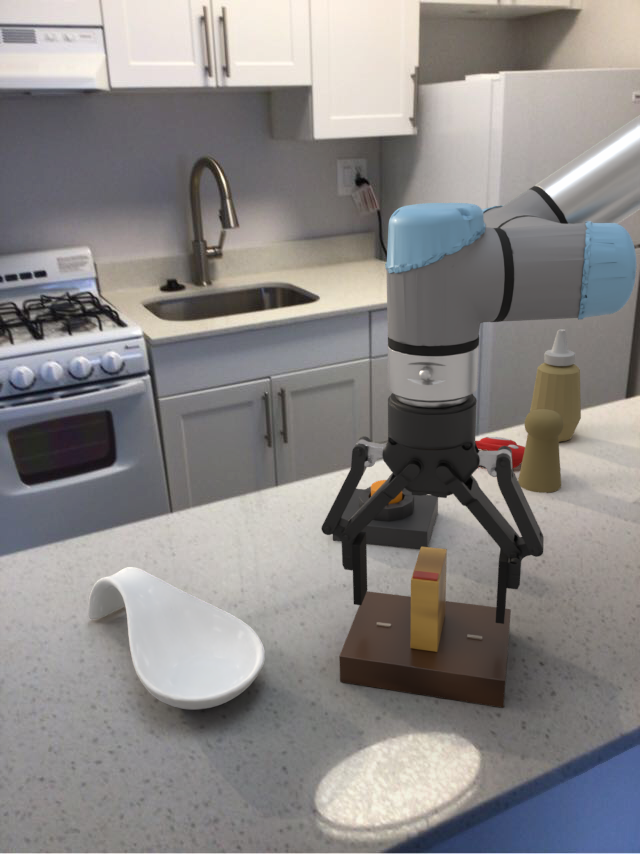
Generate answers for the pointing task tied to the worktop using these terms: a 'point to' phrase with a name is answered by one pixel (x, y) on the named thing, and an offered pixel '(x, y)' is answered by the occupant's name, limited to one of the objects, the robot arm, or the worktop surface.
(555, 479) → the tan pawn
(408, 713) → the worktop surface
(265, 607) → the worktop surface
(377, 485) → the alarm button
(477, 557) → the worktop surface
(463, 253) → the robot arm
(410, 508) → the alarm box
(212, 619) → the spoon rest
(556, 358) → the squeeze bottle
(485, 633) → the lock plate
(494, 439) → the red looped piece
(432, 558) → the thumbturn
